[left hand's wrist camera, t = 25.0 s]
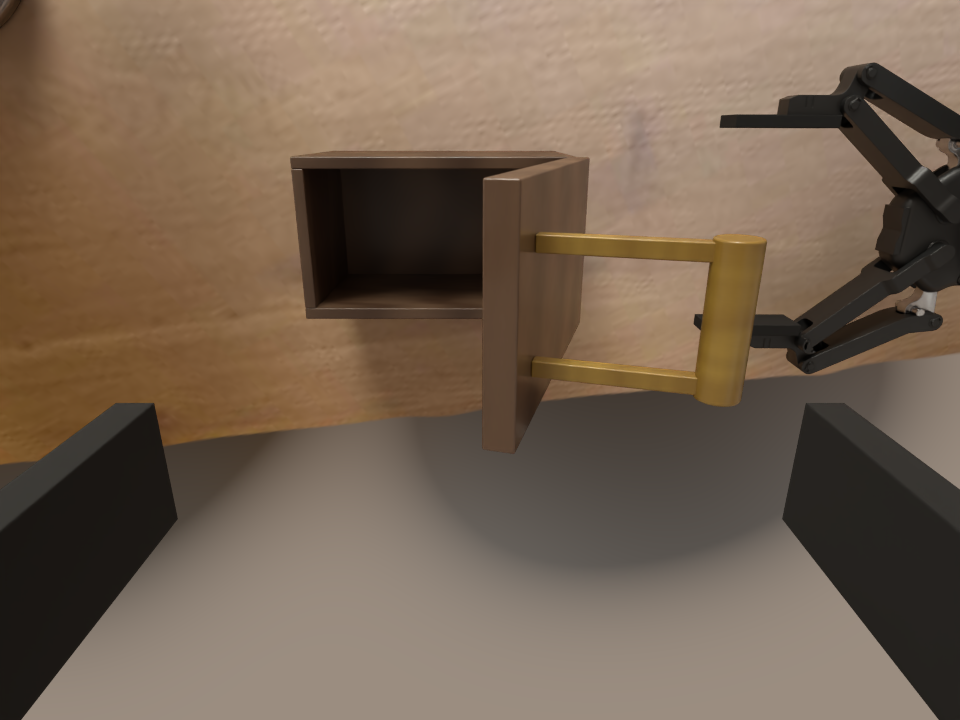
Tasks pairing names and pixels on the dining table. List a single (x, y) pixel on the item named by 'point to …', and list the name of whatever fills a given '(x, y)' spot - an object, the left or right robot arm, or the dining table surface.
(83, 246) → the dining table surface
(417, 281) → the chest
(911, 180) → the right robot arm
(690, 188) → the dining table surface
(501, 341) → the lid
